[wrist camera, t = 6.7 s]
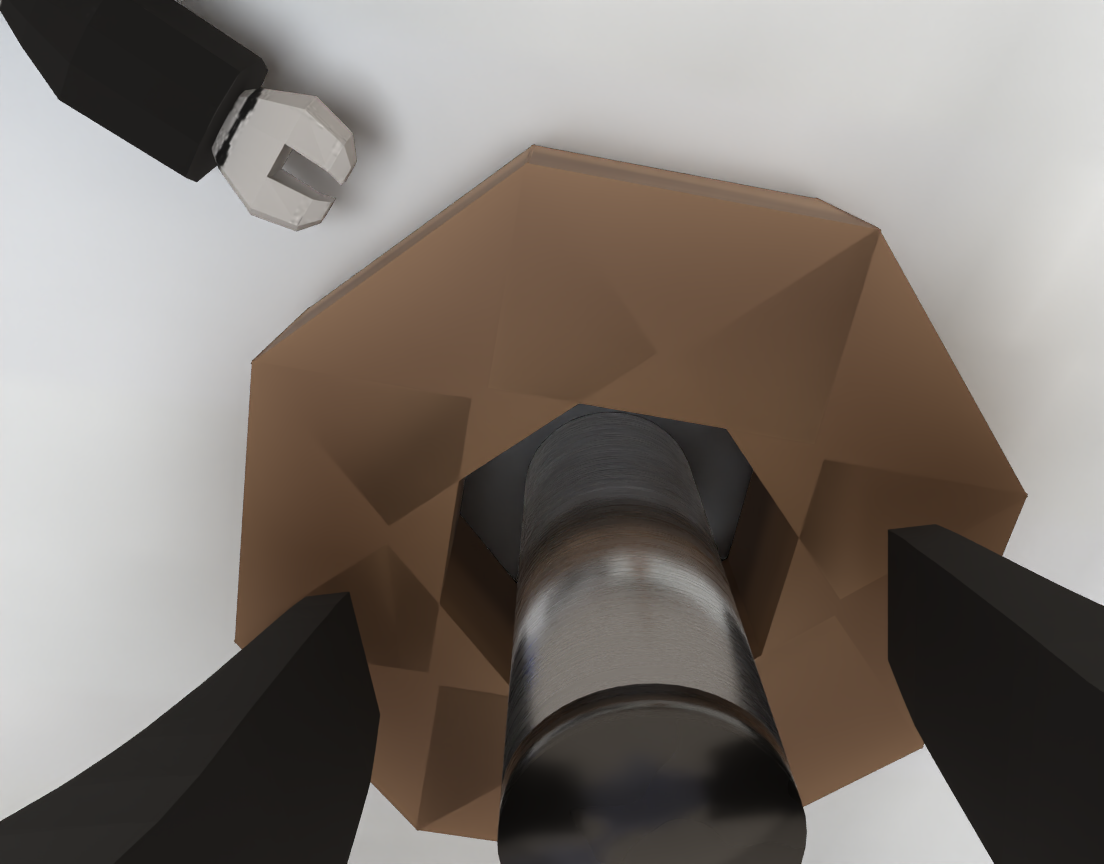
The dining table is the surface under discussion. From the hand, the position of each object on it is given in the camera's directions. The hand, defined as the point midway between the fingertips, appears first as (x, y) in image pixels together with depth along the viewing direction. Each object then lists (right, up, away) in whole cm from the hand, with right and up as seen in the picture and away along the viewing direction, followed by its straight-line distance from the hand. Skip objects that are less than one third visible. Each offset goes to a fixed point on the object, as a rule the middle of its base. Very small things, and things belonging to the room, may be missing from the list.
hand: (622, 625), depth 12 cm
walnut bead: (0, +2, +4) cm, 4 cm away
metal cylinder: (0, +2, +4) cm, 4 cm away
